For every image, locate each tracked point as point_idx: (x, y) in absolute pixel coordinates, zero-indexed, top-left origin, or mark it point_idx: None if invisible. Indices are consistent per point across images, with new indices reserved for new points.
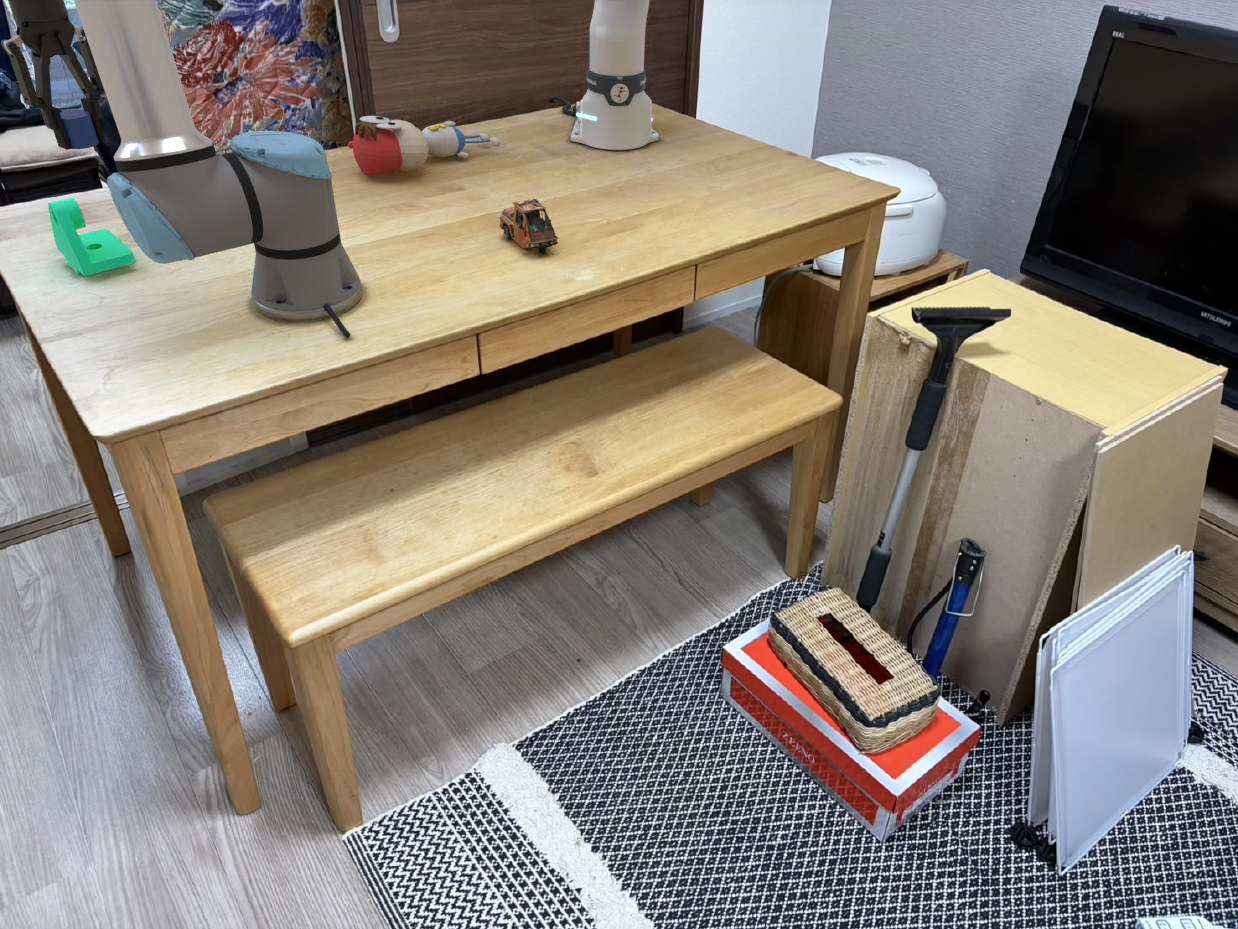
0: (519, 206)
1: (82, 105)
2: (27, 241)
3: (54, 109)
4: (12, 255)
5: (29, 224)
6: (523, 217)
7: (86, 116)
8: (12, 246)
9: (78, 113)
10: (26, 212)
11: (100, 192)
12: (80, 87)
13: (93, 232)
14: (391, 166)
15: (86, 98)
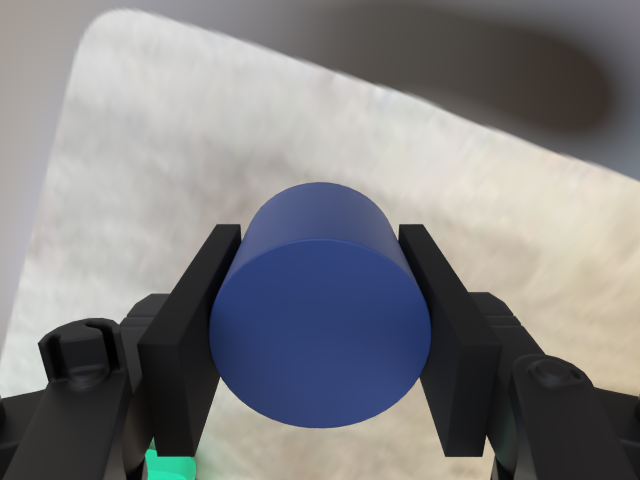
0: None
1: (445, 313)
2: (56, 298)
3: (164, 456)
4: (6, 346)
5: (93, 194)
6: None
7: (363, 418)
8: (17, 300)
9: (359, 350)
10: (115, 90)
11: (365, 100)
12: (522, 444)
13: (158, 475)
14: None
15: (495, 374)
